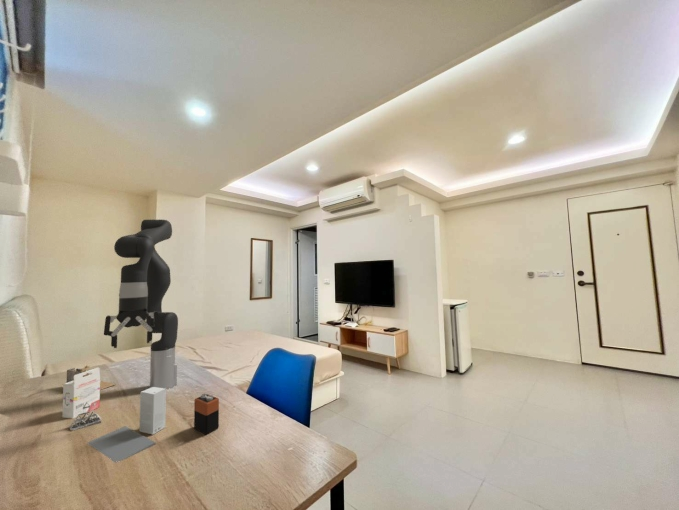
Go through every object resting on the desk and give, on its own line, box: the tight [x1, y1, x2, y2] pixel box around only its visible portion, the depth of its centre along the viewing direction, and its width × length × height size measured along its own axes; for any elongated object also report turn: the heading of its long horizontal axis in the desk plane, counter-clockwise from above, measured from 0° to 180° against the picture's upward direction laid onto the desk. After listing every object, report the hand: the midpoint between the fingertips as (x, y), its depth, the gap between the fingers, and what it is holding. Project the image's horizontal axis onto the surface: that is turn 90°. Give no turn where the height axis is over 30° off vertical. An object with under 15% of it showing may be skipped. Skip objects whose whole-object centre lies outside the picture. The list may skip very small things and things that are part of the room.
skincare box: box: [138, 387, 167, 435], centre depth 82 cm, size 6×4×12 cm
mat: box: [87, 425, 157, 464], centre depth 73 cm, size 13×18×1 cm
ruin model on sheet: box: [61, 364, 116, 391], centre depth 116 cm, size 25×16×10 cm, turn 68°
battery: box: [193, 393, 220, 435], centre depth 82 cm, size 4×7×10 cm, turn 58°
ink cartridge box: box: [61, 367, 101, 420], centre depth 94 cm, size 9×5×15 cm, turn 168°
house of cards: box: [69, 402, 102, 431], centre depth 87 cm, size 9×9×8 cm
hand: (132, 345), depth 87 cm, fingers open, 8 cm apart
